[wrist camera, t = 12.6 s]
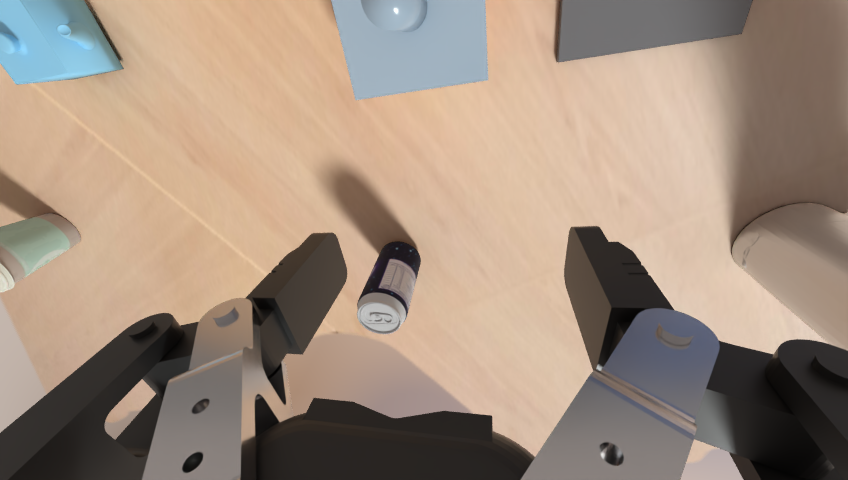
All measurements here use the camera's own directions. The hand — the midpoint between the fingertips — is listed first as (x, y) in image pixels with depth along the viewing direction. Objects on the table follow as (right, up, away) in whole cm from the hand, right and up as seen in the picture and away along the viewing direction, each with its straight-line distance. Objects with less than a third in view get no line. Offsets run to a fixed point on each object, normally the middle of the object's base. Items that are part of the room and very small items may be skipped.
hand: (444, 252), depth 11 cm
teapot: (-37, +22, +23) cm, 49 cm away
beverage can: (-4, -2, +33) cm, 33 cm away
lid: (-2, +18, +12) cm, 22 cm away
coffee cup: (-60, +2, +40) cm, 72 cm away
